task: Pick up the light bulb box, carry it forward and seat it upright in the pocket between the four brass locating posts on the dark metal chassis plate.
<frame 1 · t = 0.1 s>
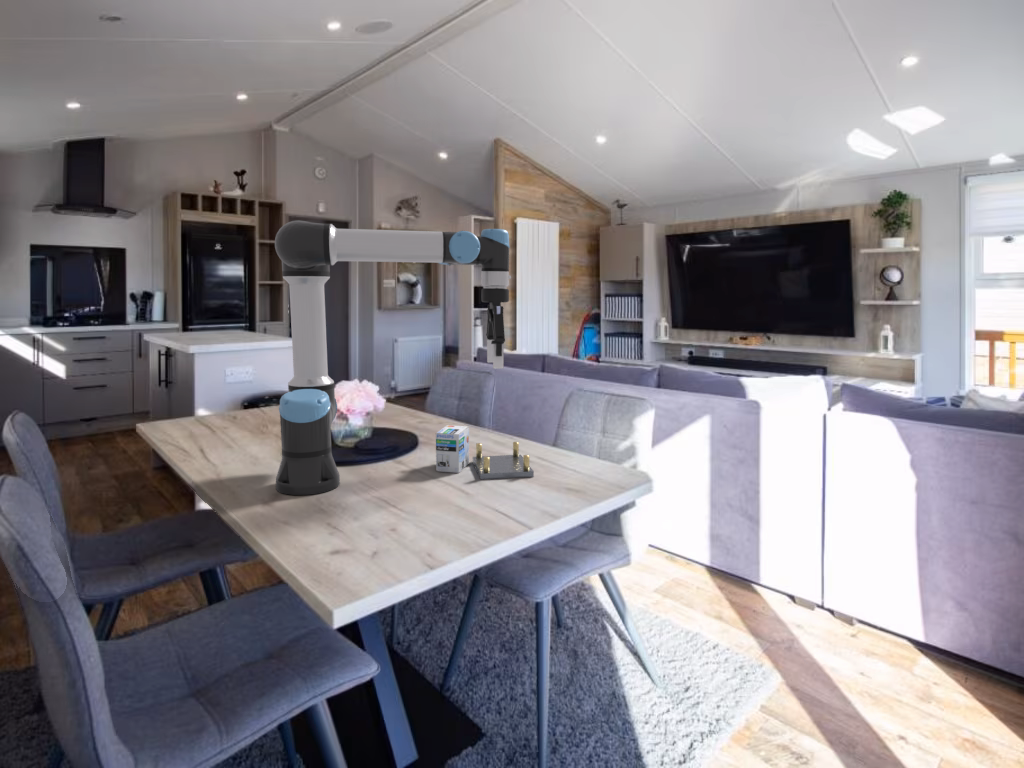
hand: (495, 365, 175), 28 cm above the table, fingers open, 13 cm apart
chassis: (501, 469, 173), on the table
light bulb box: (453, 468, 175), on the table
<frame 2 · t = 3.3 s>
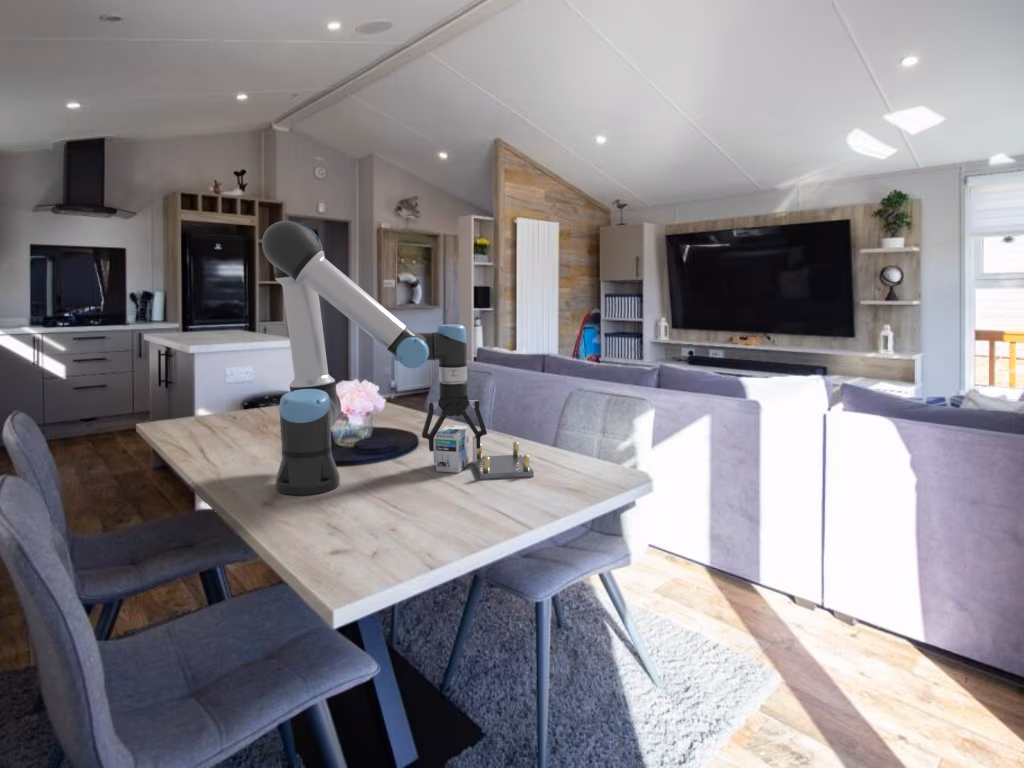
hand: (455, 461, 175), 2 cm above the table, fingers open, 10 cm apart
nothing on the table moved.
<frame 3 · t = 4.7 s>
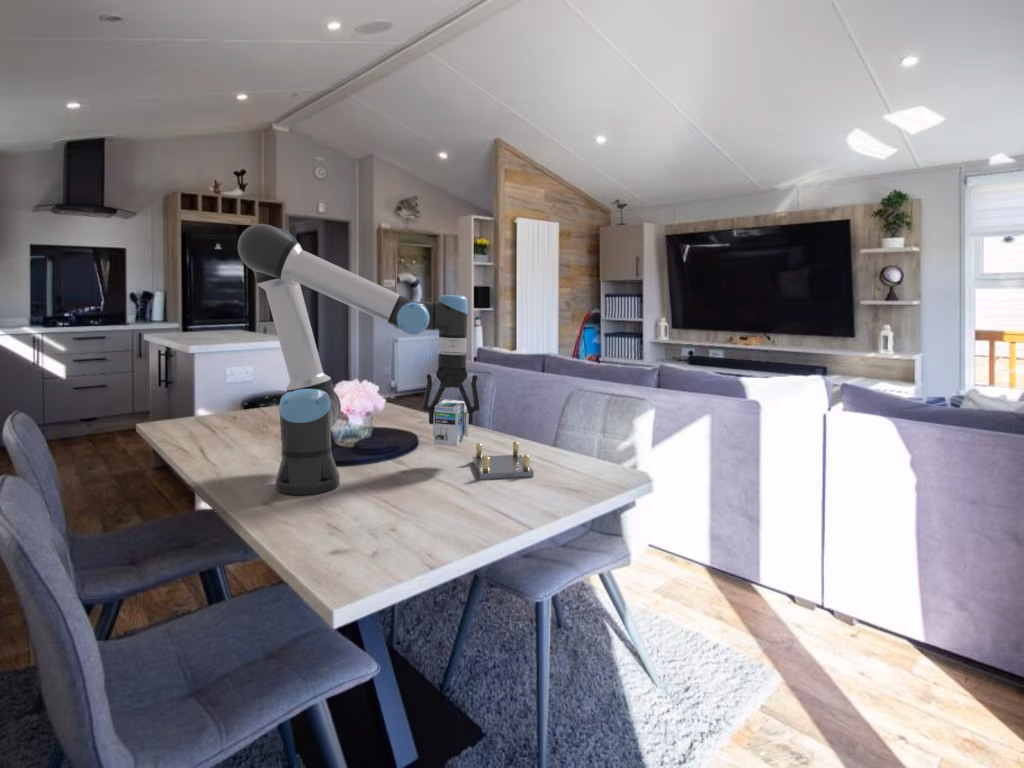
hand: (450, 435, 173), 9 cm above the table, fingers closed on light bulb box, 8 cm apart
light bulb box: (449, 442, 174), point 7 cm above the table, touching gripper
when the fingers open (4 cm above the table, at t = 9.4 s): light bulb box stays where it is, resting on chassis.
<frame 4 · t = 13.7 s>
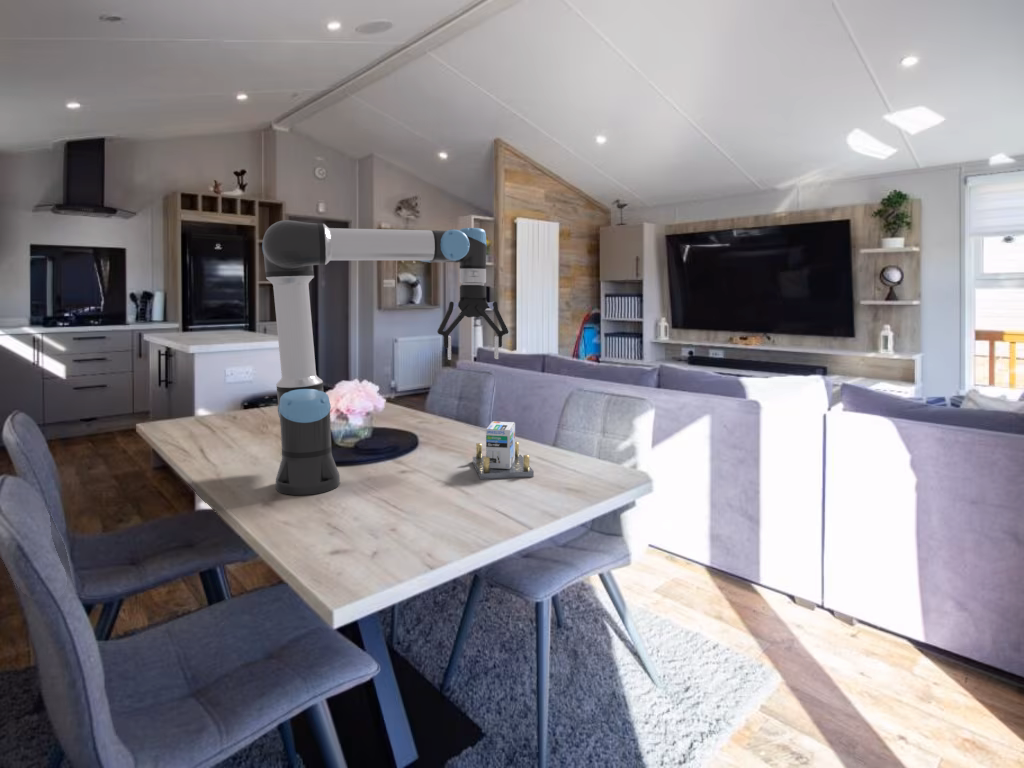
hand: (473, 359, 182), 29 cm above the table, fingers open, 13 cm apart
light bulb box: (500, 464, 173), point 1 cm above the table, touching chassis
at the end: light bulb box 0.3 cm off-centre on the chassis, point 1.3 cm above the chassis's base; light bulb box tilted 0°; the gripper is holding nothing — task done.
